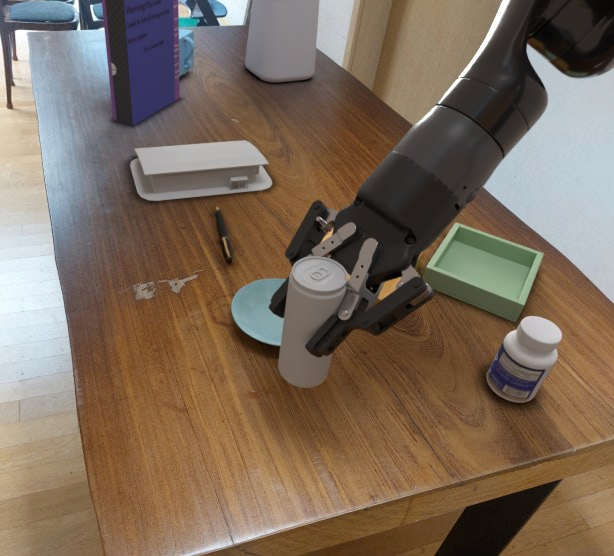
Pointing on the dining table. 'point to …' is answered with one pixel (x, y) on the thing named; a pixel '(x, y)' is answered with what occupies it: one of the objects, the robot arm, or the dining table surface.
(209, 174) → the white plastic case
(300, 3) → the plastic bottle
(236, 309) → the saucer
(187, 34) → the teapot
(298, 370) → the beverage can
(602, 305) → the dining table surface
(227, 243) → the fountain pen
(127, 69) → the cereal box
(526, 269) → the sage tray
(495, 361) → the pill bottle
